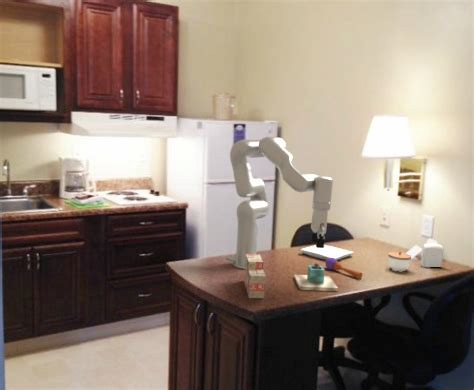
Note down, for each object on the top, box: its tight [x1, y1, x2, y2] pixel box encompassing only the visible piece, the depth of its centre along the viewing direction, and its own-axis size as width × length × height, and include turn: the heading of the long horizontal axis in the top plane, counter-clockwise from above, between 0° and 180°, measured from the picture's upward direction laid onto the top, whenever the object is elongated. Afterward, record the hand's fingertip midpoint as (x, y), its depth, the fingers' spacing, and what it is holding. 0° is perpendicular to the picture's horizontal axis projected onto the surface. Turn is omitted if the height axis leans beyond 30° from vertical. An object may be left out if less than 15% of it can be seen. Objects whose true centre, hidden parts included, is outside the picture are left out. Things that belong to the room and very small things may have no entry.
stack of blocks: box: [243, 253, 267, 299], centre depth 205 cm, size 21×6×12 cm, turn 4°
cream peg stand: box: [293, 262, 339, 292], centre depth 216 cm, size 16×16×10 cm
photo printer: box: [420, 242, 444, 268], centre depth 255 cm, size 10×4×12 cm, turn 89°
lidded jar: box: [387, 251, 412, 273], centre depth 246 cm, size 11×11×9 cm
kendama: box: [324, 258, 363, 280], centre depth 236 cm, size 6×6×20 cm
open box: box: [306, 264, 326, 284], centre depth 216 cm, size 6×6×6 cm
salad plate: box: [300, 244, 355, 261], centre depth 266 cm, size 21×21×3 cm
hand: (317, 244), depth 215 cm, fingers open, 9 cm apart
